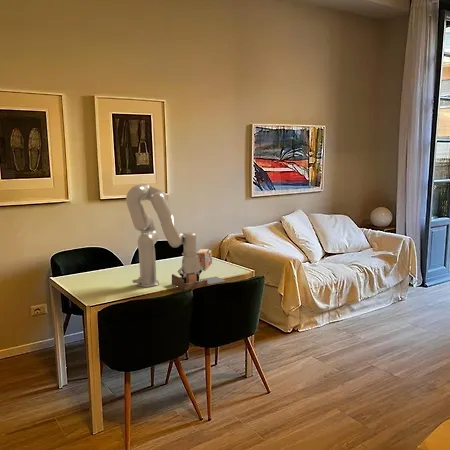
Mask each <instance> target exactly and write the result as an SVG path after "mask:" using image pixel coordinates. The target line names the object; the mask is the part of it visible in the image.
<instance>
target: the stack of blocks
mask: <svg viewBox="0 0 450 450" xmlns="http://www.w3.org/2000/svg"><path fill="white" fill-rule="evenodd" d="M197 255H198V258H199V264H200V266H202V267H203V270H204V272H205V271H206V270H208V269H209V267H210V266H211V265H212V264H213V250H211V249H209V248H200V249H198V250H197Z"/></svg>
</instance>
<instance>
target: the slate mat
mask: <svg viewBox="0 0 450 450" xmlns="http://www.w3.org/2000/svg"><path fill="white" fill-rule="evenodd" d="M201 280H202V281H203V280H207V285H209V286H210V285H216V284H220V283H227V280H226V279H223V278H221V277H219V276H212V277H204V278H199V281H201Z"/></svg>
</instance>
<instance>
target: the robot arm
mask: <svg viewBox="0 0 450 450" xmlns="http://www.w3.org/2000/svg"><path fill="white" fill-rule="evenodd" d="M143 199H145V200H147V201H150V203H151V205H152V207H153V209H154V211H155V213H156V215H157V217H158V220H159V222H160V227H161V229H162V232H163V235H164V237H165V238H166V240H167V242H168V244H169V246H170V247H171V248H179V247H180V246H181V245H183V252H181V255H182V259H181V267H180V268H179V269H178V270H176V271H177V273H178V274H179V277H182V279H183V280H184V284H186V278H185V276H186V274H190V273H196V278H197V281H200V275H201V274H202V272H203V271H202V270H203V267H202V266H200V264H199V258H198V255H197V252H198V250H197V234H196V233H195V232H187V233H186V232H183V231H182V232H181V231H178V230H177V229H176V225H175V223H174V219H175V217H174V213H173V211H172V210H171V207H170V205H169V204H168V195H167V193H166V192H164V191H162V190H161V189H159V188H156V187H153V186H152V185H149V184H148V183H147V184H146V183H139V184H136V185H134V186H132V187H131V188H130V189H129V190H128V191H127V193H126V197H125V202H126V206H127V209H128V212H129V215H130V219H131V221H132V225H133V227H134V229H135V230H136V231H139V232H140V233H141V234H140V235H139V236H138V239H137V247H138V258H139V259H138V260H139V276H138V278H137V279H132V281H131V282H132V283H133V284H137V286H138V287H141V288H142V287H143V288H152V287H156V286H158V285H159V284H160V280H159V279H158V280H157V264H156V263H157V262H156V248H155V244H156V243H157V242H158V239H159V235H158V232H157V229H156V226H155V223H154V220H153V218H152V215H150V214H149V213H146V211H145V209H144V205H143V203H142V200H143Z"/></svg>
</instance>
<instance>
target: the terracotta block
mask: <svg viewBox="0 0 450 450" xmlns="http://www.w3.org/2000/svg"><path fill="white" fill-rule="evenodd" d="M185 278H186V283H191V282H197V278H196V273H190V274H186V276H185Z"/></svg>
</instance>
